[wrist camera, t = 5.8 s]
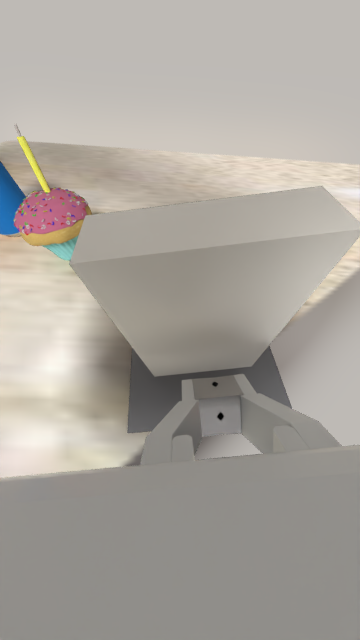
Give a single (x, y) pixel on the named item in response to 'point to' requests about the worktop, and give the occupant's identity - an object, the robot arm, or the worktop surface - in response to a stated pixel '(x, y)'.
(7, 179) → the beverage can
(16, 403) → the worktop surface
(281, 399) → the mat
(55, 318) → the worktop surface
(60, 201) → the cupcake
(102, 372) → the worktop surface
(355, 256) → the worktop surface
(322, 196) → the tile
